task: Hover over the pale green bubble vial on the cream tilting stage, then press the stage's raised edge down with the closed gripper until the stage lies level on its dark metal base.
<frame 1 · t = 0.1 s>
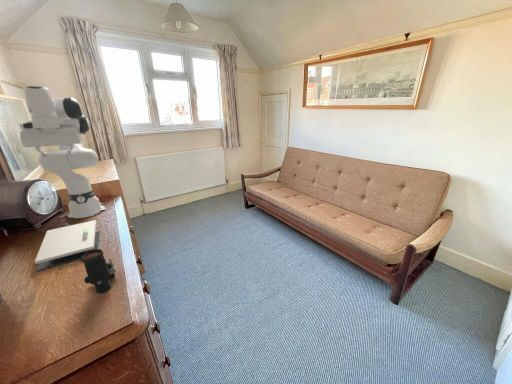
hand: (57, 155, 100), 39 cm above the chest of drawers, tool pointing down, fingers open, 8 cm apart
stage base: (73, 249, 95), on the chest of drawers
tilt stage: (69, 237, 93), point 6 cm above the chest of drawers, hinge at 8.0°
scope: (104, 287, 73), on the chest of drawers
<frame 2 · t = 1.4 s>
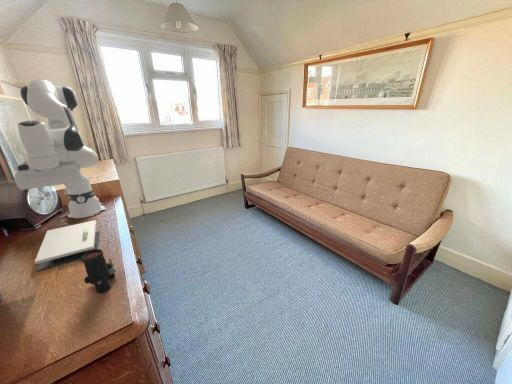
hand: (57, 195, 91), 24 cm above the chest of drawers, tool pointing down, fingers open, 5 cm apart
nothing on the chest of drawers moved.
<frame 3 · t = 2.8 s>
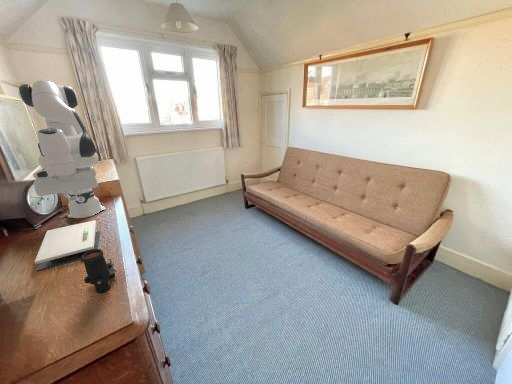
hand: (73, 200, 92), 21 cm above the chest of drawers, tool pointing down, fingers closed
nothing on the chest of drawers moved.
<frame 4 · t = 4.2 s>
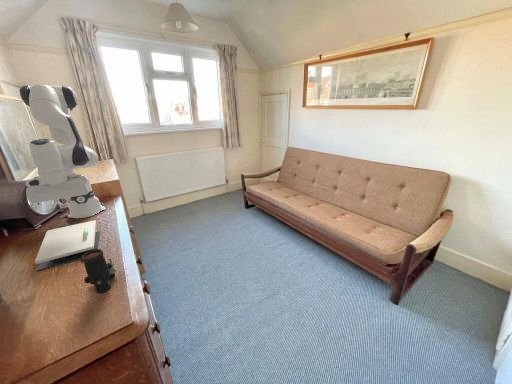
hand: (65, 207, 96), 17 cm above the chest of drawers, tool pointing down, fingers closed
nothing on the chest of drawers moved.
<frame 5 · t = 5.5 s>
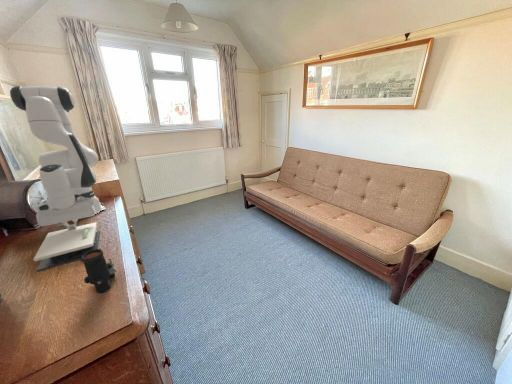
hand: (72, 228, 100), 6 cm above the chest of drawers, tool pointing down, fingers closed, pressing on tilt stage
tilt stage: (69, 237, 93), point 6 cm above the chest of drawers, hinge at 1.3°, touching gripper
everything else where it was.
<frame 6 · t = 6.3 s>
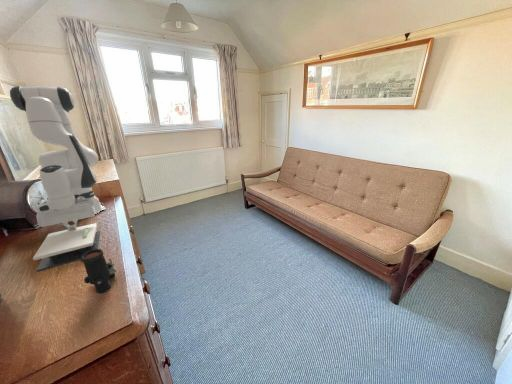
hand: (72, 229, 100), 6 cm above the chest of drawers, tool pointing down, fingers closed
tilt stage: (69, 237, 93), point 6 cm above the chest of drawers, hinge at -1.0°
everything else where it was.
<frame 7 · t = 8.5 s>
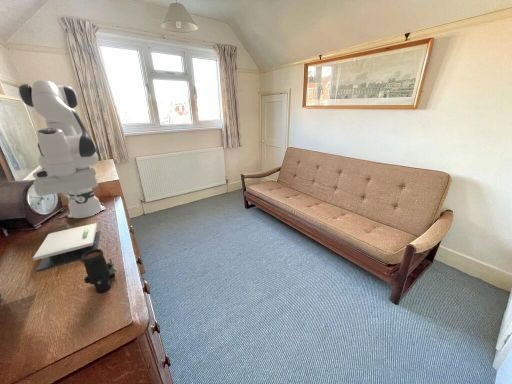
hand: (73, 200, 93), 21 cm above the chest of drawers, tool pointing down, fingers closed
nothing on the chest of drawers moved.
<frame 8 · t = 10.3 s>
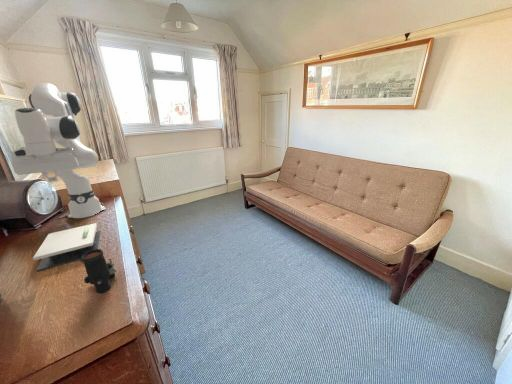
hand: (53, 181, 93), 29 cm above the chest of drawers, tool pointing down, fingers closed
nothing on the chest of drawers moved.
at the end: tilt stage at -1° (first picture: +8°); scope tilted 0° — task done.
